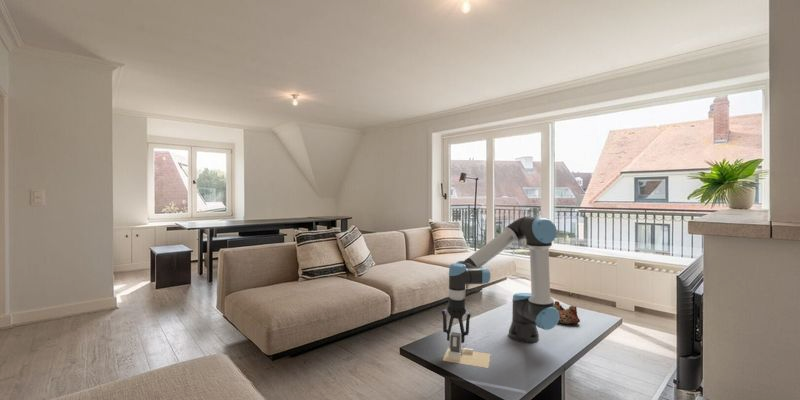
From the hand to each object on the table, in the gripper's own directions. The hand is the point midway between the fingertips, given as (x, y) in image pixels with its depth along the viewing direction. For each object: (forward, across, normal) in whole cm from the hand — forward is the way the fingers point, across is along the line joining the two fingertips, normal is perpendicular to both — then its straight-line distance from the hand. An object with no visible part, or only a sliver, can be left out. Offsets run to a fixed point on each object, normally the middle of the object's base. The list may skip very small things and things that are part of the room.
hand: (455, 348), depth 159 cm
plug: (+1, 0, 0) cm, 1 cm away
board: (+5, -5, -1) cm, 7 cm away
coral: (+4, -54, -71) cm, 90 cm away
